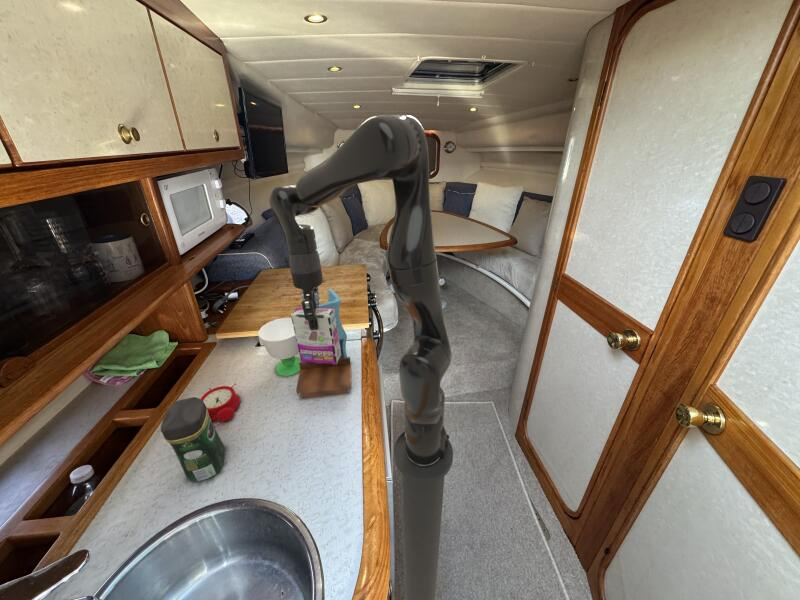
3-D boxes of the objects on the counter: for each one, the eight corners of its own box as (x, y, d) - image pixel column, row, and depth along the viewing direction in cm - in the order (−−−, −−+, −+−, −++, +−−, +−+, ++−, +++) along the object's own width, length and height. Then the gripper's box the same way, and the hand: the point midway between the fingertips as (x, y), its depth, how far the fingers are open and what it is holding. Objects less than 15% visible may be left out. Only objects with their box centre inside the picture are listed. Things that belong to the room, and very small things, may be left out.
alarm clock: (240, 379, 97) (228, 407, 83) (244, 397, 99) (233, 427, 85) (203, 386, 95) (184, 415, 81) (208, 404, 96) (190, 436, 82)
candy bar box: (342, 354, 95) (335, 307, 87) (337, 365, 91) (329, 316, 83) (307, 352, 96) (297, 305, 89) (300, 362, 92) (289, 314, 84)
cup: (274, 387, 99) (263, 346, 92) (264, 363, 109) (253, 325, 102) (316, 370, 106) (308, 331, 98) (303, 350, 116) (295, 313, 108)
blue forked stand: (339, 349, 116) (331, 288, 104) (350, 364, 108) (342, 300, 97) (313, 358, 112) (302, 295, 100) (322, 374, 104) (310, 308, 92)
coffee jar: (193, 452, 79) (166, 398, 70) (227, 443, 81) (205, 389, 73) (183, 488, 71) (151, 432, 62) (222, 477, 73) (196, 421, 65)
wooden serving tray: (351, 372, 105) (349, 357, 102) (351, 394, 96) (349, 378, 93) (302, 377, 103) (299, 362, 100) (298, 400, 94) (294, 384, 91)
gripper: (318, 277, 74) (327, 336, 82) (322, 256, 87) (330, 309, 94) (285, 279, 73) (297, 339, 81) (294, 258, 86) (305, 311, 94)
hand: (315, 322), depth 88 cm, fingers closed on candy bar box, 5 cm apart
